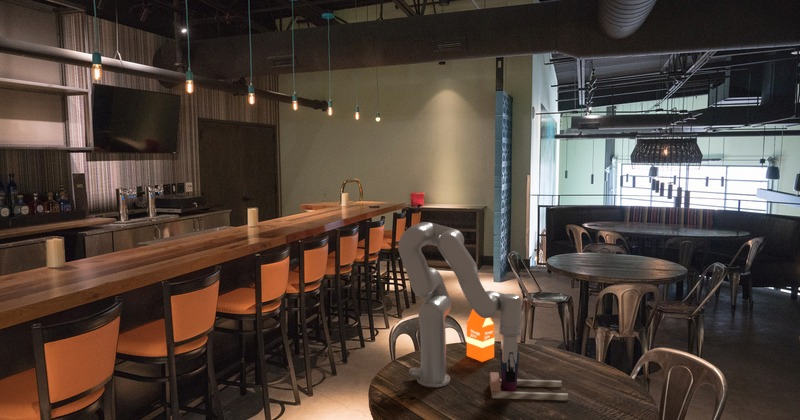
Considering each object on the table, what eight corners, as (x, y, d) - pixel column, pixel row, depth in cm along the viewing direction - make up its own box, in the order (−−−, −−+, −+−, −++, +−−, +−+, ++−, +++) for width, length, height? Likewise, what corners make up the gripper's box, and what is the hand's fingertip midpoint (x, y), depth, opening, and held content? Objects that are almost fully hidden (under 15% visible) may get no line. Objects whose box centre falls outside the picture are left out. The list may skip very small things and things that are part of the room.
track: (492, 397, 181) (492, 384, 180) (489, 383, 192) (489, 370, 192) (568, 400, 178) (568, 386, 178) (561, 385, 190) (561, 372, 189)
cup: (496, 388, 188) (496, 348, 186) (512, 385, 190) (513, 346, 189) (505, 396, 182) (505, 355, 180) (522, 393, 184) (523, 352, 182)
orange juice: (478, 351, 224) (478, 306, 222) (494, 357, 217) (494, 311, 215) (466, 355, 219) (466, 310, 217) (482, 362, 212) (482, 314, 210)
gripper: (497, 321, 192) (496, 367, 194) (501, 337, 175) (501, 388, 177) (517, 321, 192) (516, 368, 194) (524, 337, 175) (523, 388, 176)
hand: (509, 377), depth 185 cm, fingers closed on cup, 6 cm apart
